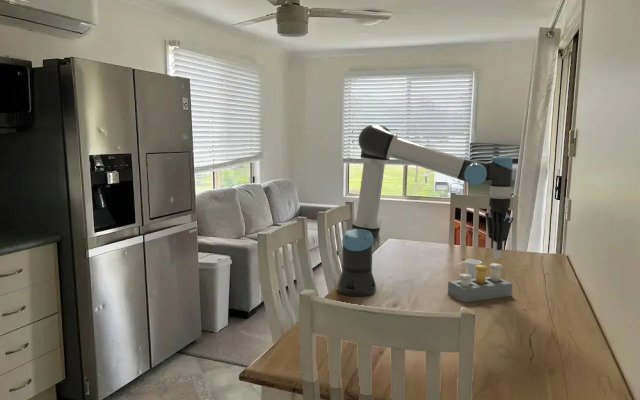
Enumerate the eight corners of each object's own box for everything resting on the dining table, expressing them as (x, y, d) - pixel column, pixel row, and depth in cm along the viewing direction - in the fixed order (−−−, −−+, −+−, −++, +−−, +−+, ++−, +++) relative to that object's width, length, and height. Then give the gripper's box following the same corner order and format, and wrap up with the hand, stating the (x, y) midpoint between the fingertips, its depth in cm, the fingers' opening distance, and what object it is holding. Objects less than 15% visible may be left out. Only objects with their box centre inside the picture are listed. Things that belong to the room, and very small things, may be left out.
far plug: (494, 283, 179) (495, 266, 178) (486, 280, 183) (487, 263, 182) (503, 282, 180) (504, 265, 179) (495, 279, 184) (496, 262, 184)
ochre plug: (479, 285, 176) (480, 268, 175) (471, 281, 180) (472, 265, 180) (488, 284, 178) (489, 267, 177) (481, 280, 182) (482, 264, 181)
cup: (480, 283, 195) (481, 264, 193) (455, 279, 198) (456, 261, 197) (481, 278, 201) (482, 260, 200) (457, 275, 205) (458, 257, 204)
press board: (464, 302, 171) (464, 289, 171) (447, 293, 181) (448, 281, 180) (511, 295, 179) (512, 283, 178) (493, 287, 188) (494, 275, 188)
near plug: (463, 294, 174) (464, 277, 173) (456, 290, 178) (457, 274, 178) (473, 293, 176) (474, 276, 175) (465, 289, 180) (466, 273, 179)
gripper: (520, 199, 172) (516, 261, 175) (496, 194, 184) (492, 252, 187) (504, 199, 170) (500, 262, 173) (480, 195, 182) (477, 254, 185)
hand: (496, 257), depth 180 cm, fingers closed
